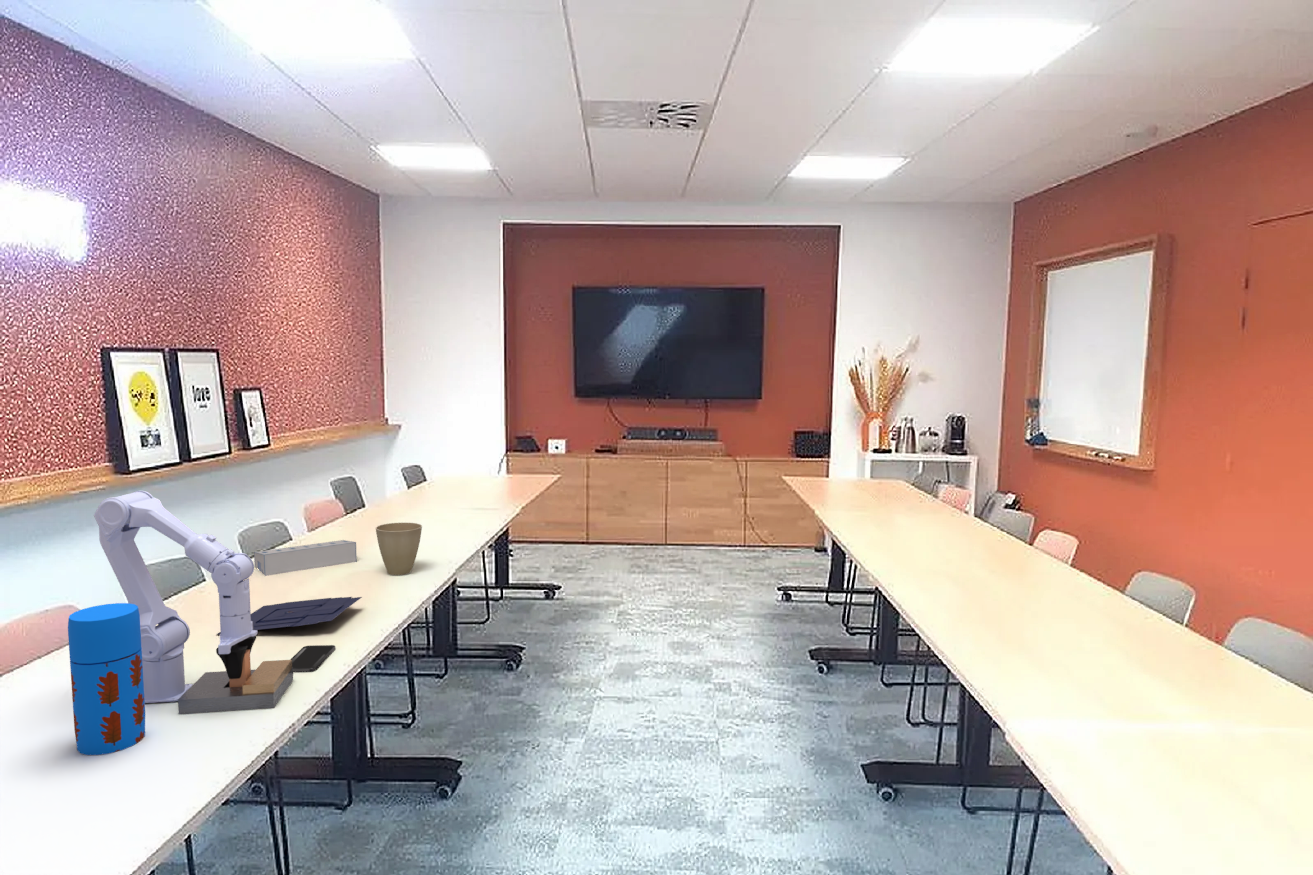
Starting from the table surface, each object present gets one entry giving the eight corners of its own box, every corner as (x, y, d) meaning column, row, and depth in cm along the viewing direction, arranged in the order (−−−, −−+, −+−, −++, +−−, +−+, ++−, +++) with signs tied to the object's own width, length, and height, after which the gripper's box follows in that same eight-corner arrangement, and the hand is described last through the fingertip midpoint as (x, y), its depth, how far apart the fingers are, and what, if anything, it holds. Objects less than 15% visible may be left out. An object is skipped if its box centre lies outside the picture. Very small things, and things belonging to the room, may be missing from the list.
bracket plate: (178, 714, 155) (177, 690, 154) (206, 685, 169) (205, 663, 168) (273, 707, 158) (273, 684, 158) (293, 680, 172) (292, 658, 171)
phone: (279, 669, 176) (304, 645, 191) (279, 674, 176) (304, 649, 191) (314, 669, 176) (337, 645, 191) (315, 673, 177) (337, 649, 191)
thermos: (159, 727, 149) (152, 602, 147) (122, 755, 139) (114, 621, 136) (102, 727, 149) (94, 602, 146) (61, 755, 138) (52, 621, 136)
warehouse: (343, 554, 284) (343, 534, 284) (356, 562, 273) (356, 542, 273) (254, 567, 265) (253, 546, 265) (264, 577, 254) (263, 554, 254)
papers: (329, 633, 198) (327, 619, 198) (216, 645, 199) (214, 631, 199) (366, 604, 223) (364, 591, 222) (265, 614, 223) (263, 602, 223)
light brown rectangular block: (229, 688, 161) (228, 655, 161) (235, 681, 164) (233, 650, 164) (246, 686, 162) (244, 655, 161) (251, 680, 165) (249, 649, 164)
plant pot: (410, 579, 251) (409, 532, 250) (368, 577, 254) (366, 530, 252) (430, 568, 266) (429, 522, 265) (390, 565, 268) (389, 521, 267)
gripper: (243, 623, 155) (246, 687, 157) (266, 601, 169) (269, 660, 171) (205, 624, 154) (209, 689, 155) (232, 602, 168) (234, 662, 169)
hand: (238, 674), depth 163 cm, fingers closed on light brown rectangular block, 3 cm apart
